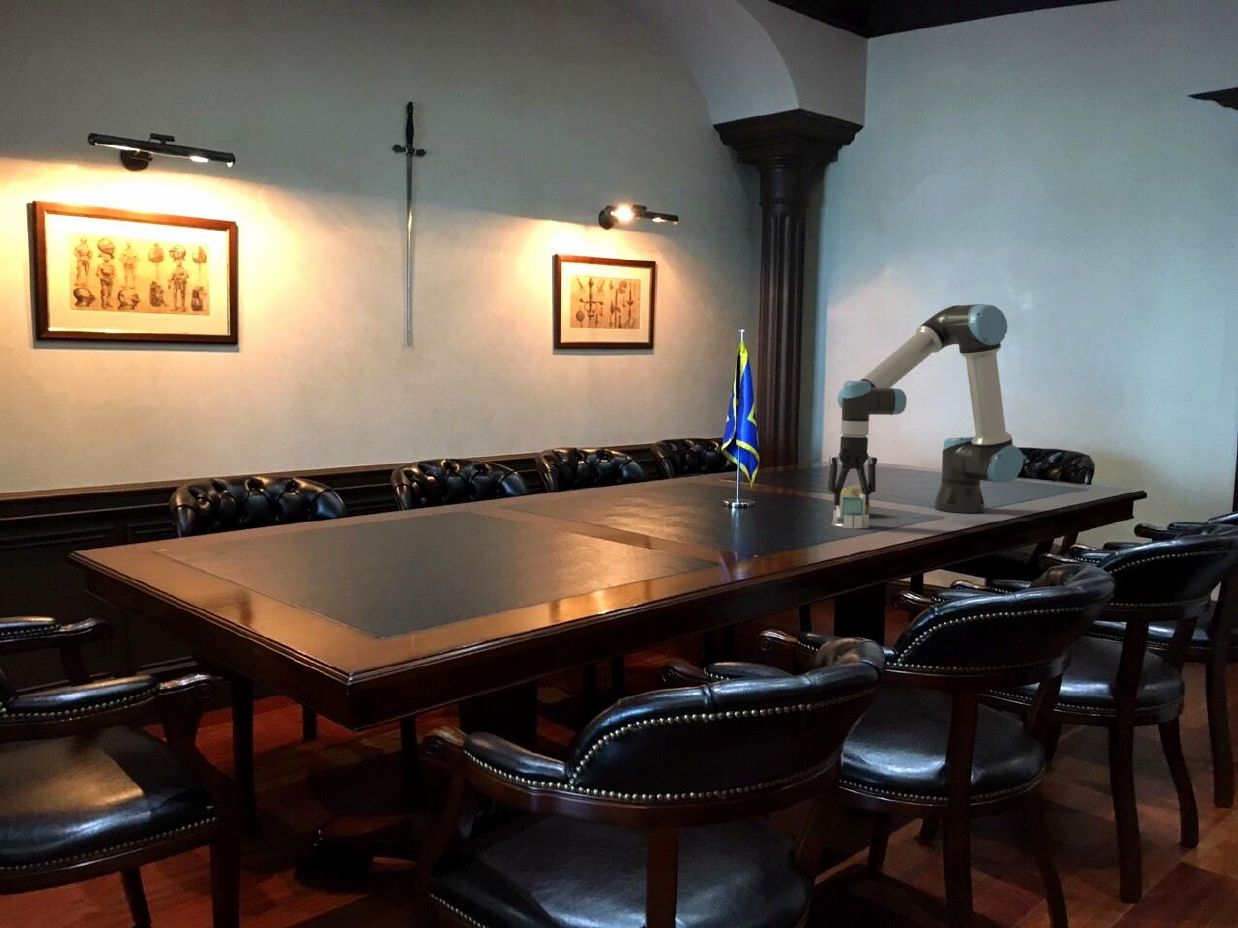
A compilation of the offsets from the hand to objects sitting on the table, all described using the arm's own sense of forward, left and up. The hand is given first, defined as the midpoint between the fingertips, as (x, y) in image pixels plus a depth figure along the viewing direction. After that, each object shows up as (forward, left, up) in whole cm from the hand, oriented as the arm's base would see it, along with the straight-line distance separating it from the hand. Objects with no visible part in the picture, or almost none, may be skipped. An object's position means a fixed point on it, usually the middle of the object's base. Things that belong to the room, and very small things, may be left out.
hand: (850, 516), depth 294 cm
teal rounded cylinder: (0, 0, 0) cm, 0 cm away
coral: (-8, -18, -3) cm, 20 cm away
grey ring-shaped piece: (0, 0, -2) cm, 2 cm away
